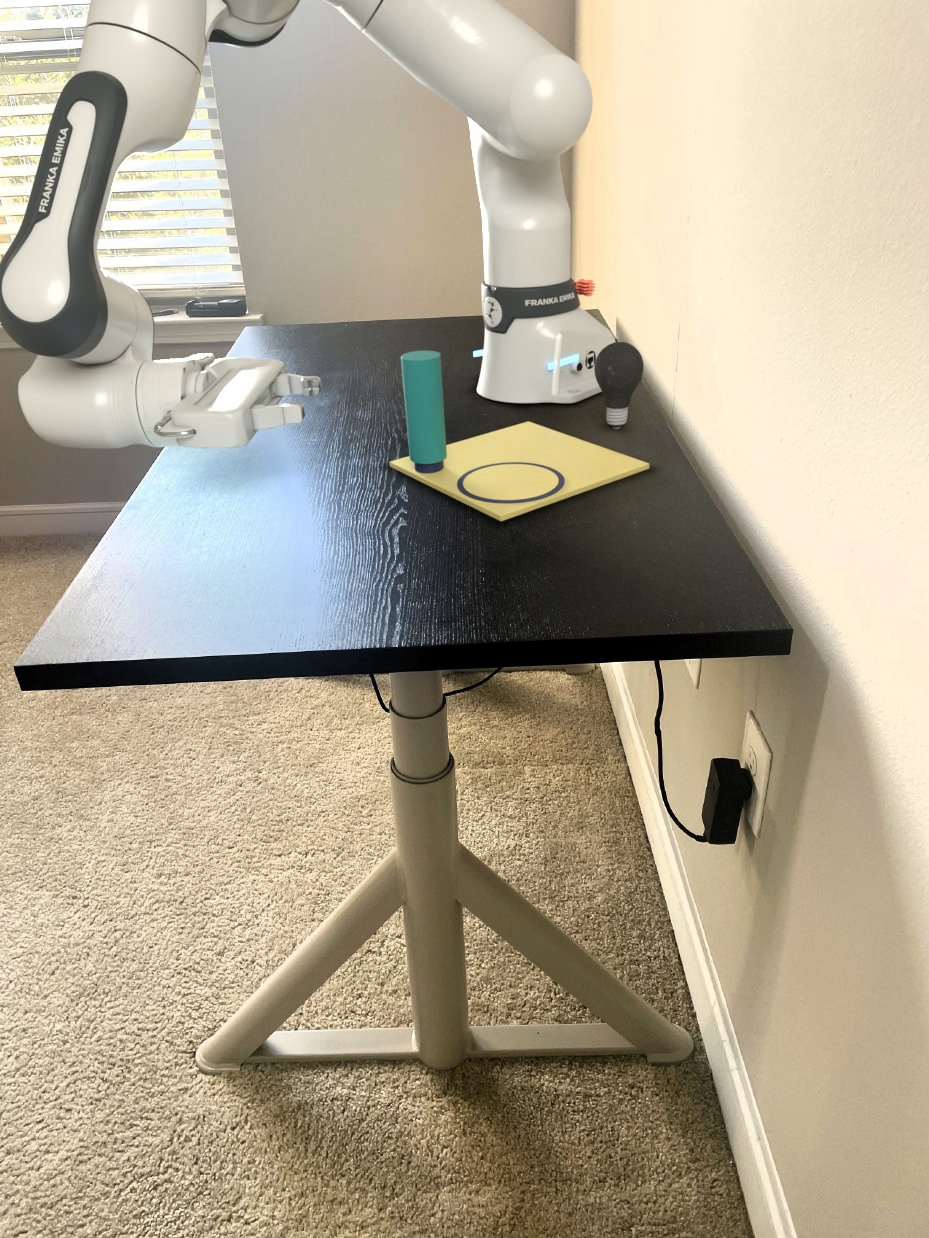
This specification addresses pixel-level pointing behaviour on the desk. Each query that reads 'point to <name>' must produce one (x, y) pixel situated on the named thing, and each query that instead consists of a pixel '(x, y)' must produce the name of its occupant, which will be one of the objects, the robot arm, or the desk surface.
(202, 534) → the desk surface
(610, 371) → the light bulb
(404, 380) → the cylinder
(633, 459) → the writing pad
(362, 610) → the desk surface
